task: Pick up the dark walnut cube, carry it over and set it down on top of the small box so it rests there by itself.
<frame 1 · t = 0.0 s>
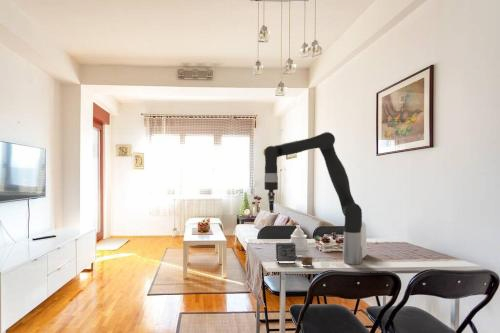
hand: (271, 210, 201), 29 cm above the table, fingers open, 8 cm apart
small box: (285, 262, 202), on the table
milk: (355, 255, 217), on the table
walnut cube: (306, 265, 194), on the table
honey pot: (298, 255, 219), on the table
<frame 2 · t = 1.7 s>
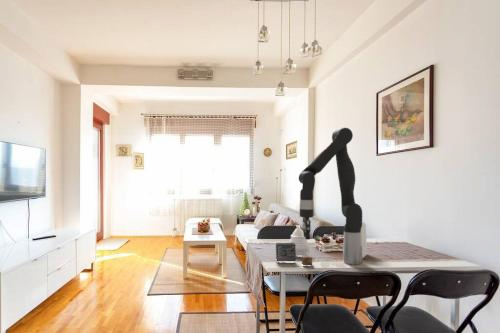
hand: (306, 237, 195), 15 cm above the table, fingers open, 8 cm apart
nothing on the table moved.
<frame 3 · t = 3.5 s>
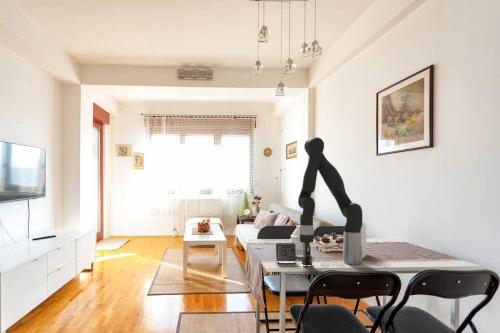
hand: (306, 264, 194), 0 cm above the table, fingers closed on walnut cube, 5 cm apart
walnut cube: (306, 265, 194), on the table, touching gripper
everything else where it was.
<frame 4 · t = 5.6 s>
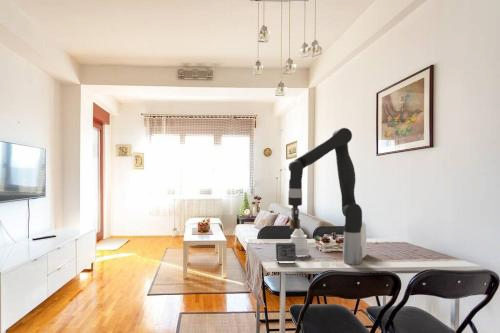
hand: (294, 227, 198), 20 cm above the table, fingers closed on walnut cube, 5 cm apart
walnut cube: (294, 228, 198), point 20 cm above the table, touching gripper
everything else where it was.
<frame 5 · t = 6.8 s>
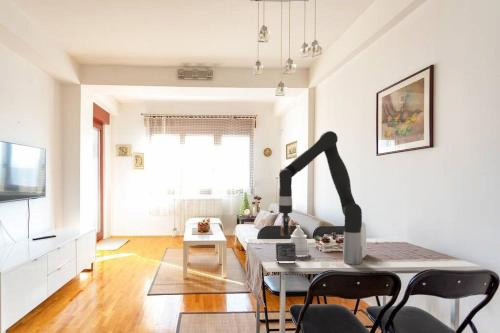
hand: (285, 234, 202), 16 cm above the table, fingers closed on walnut cube, 5 cm apart
walnut cube: (285, 235, 202), point 15 cm above the table, touching gripper
everything else where it was.
when the fingers open (12 cm above the table, at t = 7.9 s): walnut cube stays where it is, resting on small box.
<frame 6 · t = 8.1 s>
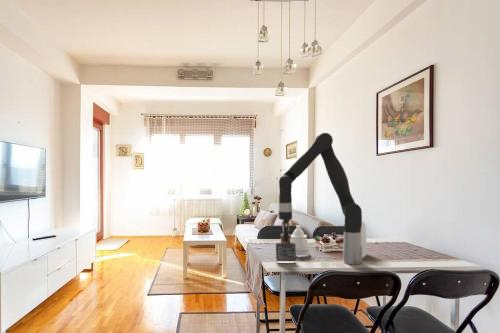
hand: (285, 240, 202), 12 cm above the table, fingers open, 7 cm apart
small box: (285, 262, 202), on the table, touching walnut cube
walnut cube: (285, 243, 202), point 10 cm above the table, touching small box
everything else where it was.
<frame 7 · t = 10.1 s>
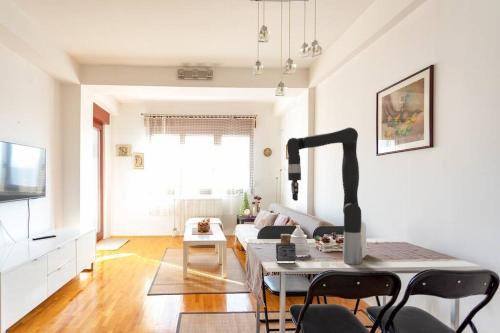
hand: (295, 200, 208), 34 cm above the table, fingers open, 8 cm apart
nothing on the table moved.
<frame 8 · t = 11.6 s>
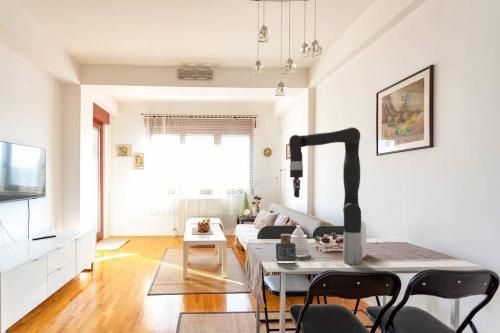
hand: (296, 196, 209), 36 cm above the table, fingers open, 8 cm apart
nothing on the table moved.
at the end: walnut cube 0.1 cm from the small box (horizontally); walnut cube point 10.3 cm above the table; the gripper is holding nothing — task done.
